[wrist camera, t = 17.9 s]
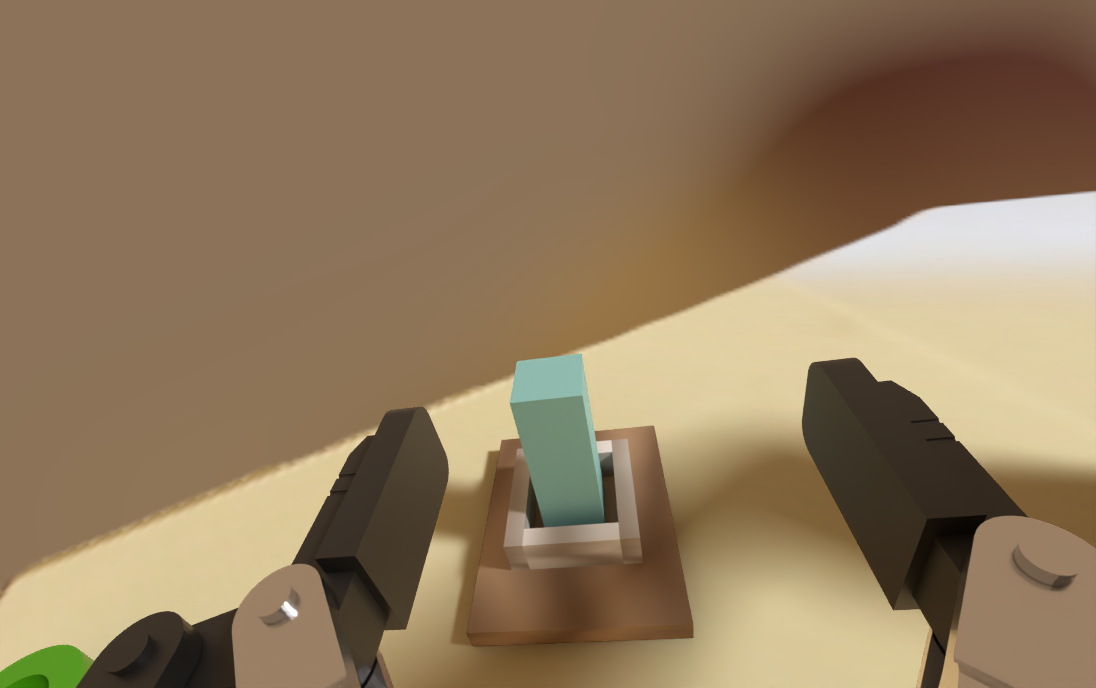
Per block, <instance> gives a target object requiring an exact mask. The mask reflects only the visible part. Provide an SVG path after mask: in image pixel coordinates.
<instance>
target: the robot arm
mask: <svg viewBox="0 0 1096 688" xmlns="http://www.w3.org/2000/svg"><path fill="white" fill-rule="evenodd" d="M802 430H803V436H804V440H805V443H806V446H807V449H808V451H809V453H810V455H811V457H812V459H813V460H814V462H815V464H816V466H817V468H818V470H819V472H820V474H821V475H822V477H823V479H824V481H825V483H826V485H827V487H828V489H829V490H830V492H831V494H832V496H833V498H834V500H835V502H836V504H837V505H838V507H839V509H840V511H841V513H842V515H843V517H844V519H845V520H846V522H847V524H848V526H849V528H850V530H851V532H852V534H853V536H854V537H855V539H856V541H857V543H858V545H859V547H860V549H861V551H862V552H863V554H864V556H865V558H866V560H867V562H868V564H869V566H870V567H871V569H872V571H873V573H874V575H875V577H876V579H877V581H878V582H879V584H880V586H881V588H882V590H883V592H884V594H885V596H886V597H887V599H888V601H889V603H890V605H891V607H892V609H893V610H909V609H920V610H921V611H922V613H923V615H924V617H925V618H926V620H927V622H928V624H929V625H930V627H931V628H930V630H929V632H928V635H927V639H926V644H925V648H924V653H923V657H922V662H921V667H920V671H919V676H918V680H917V685H916V688H1096V548H1094V547H1093V546H1092V545H1090V544H1089V543H1087V542H1086V541H1085V540H1083V539H1081V538H1080V537H1078V536H1076V535H1074V534H1073V533H1071V532H1069V531H1067V530H1065V529H1062V528H1060V527H1058V526H1055V525H1053V524H1050V523H1048V522H1044V521H1041V520H1037V519H1033V518H1029V517H1028V516H1027V515H1026V514H1025V513H1024V512H1023V511H1022V510H1021V509H1020V508H1019V507H1018V506H1017V505H1016V504H1015V503H1014V501H1013V500H1012V499H1011V498H1010V497H1009V496H1008V495H1007V494H1006V493H1005V491H1004V490H1003V489H1002V488H1001V487H1000V486H999V485H998V484H997V483H996V481H995V480H994V479H993V478H992V477H991V476H990V475H989V474H988V473H987V472H986V470H985V469H984V468H983V467H982V466H981V465H980V464H979V463H978V462H977V460H976V459H975V458H974V457H973V456H972V455H971V454H970V453H969V452H968V450H967V449H966V448H965V447H964V446H963V445H962V444H961V443H960V442H959V441H956V440H955V436H954V435H953V434H952V433H951V432H950V430H949V429H948V428H947V427H946V426H945V425H944V424H943V423H940V422H939V418H938V417H937V416H936V415H935V414H934V413H933V412H932V411H931V409H930V408H929V407H928V406H927V405H926V404H925V403H924V402H923V401H922V399H921V398H920V397H918V396H917V395H915V394H913V393H911V392H910V391H908V390H906V389H905V388H903V387H901V386H900V385H898V384H896V383H895V382H893V381H882V382H877V380H876V379H875V378H874V377H873V375H872V374H871V373H870V372H869V371H868V369H867V368H866V367H865V366H864V365H863V363H862V362H861V361H860V360H858V359H857V358H846V359H838V360H829V361H820V362H813V363H812V364H811V365H810V367H809V370H808V377H807V385H806V393H805V401H804V408H803V416H802ZM448 474H449V468H448V460H447V456H446V453H445V451H444V448H443V446H442V444H441V441H440V439H439V437H438V435H437V432H436V430H435V428H434V425H433V423H432V421H431V418H430V416H429V414H428V412H427V410H426V409H425V408H424V407H414V408H406V409H397V410H390V411H388V412H387V413H386V414H385V416H384V418H383V419H382V421H381V423H380V425H379V428H378V430H377V432H376V434H375V435H372V436H367V437H366V438H365V439H364V440H363V441H362V442H361V443H360V444H359V445H358V446H357V447H356V448H355V449H354V450H353V451H352V452H351V454H350V455H349V456H348V458H347V460H346V462H345V464H344V466H343V468H342V470H341V472H340V474H339V479H336V481H335V483H334V485H333V487H332V489H331V491H330V496H327V498H326V500H325V502H324V504H323V506H322V508H321V510H320V512H319V514H318V515H317V517H316V519H315V521H314V523H313V525H312V527H311V529H310V531H309V533H308V534H307V536H306V538H305V540H304V542H303V544H302V546H301V548H300V550H299V552H298V554H297V555H296V557H295V559H294V561H293V563H292V564H291V565H290V566H286V567H284V568H281V569H279V570H277V571H275V572H273V573H272V574H270V575H269V576H267V577H266V578H264V579H263V580H262V581H261V582H259V583H258V584H257V585H256V586H255V587H254V588H253V589H252V590H251V591H250V592H249V594H248V595H247V596H246V597H245V599H244V600H243V601H242V603H241V604H240V606H239V608H237V609H234V610H231V611H229V612H226V613H223V614H221V615H218V616H215V617H213V618H210V619H207V620H205V621H202V622H199V623H197V624H194V625H192V626H191V625H190V624H189V623H188V622H186V621H185V620H184V619H183V618H182V617H181V616H180V615H178V614H176V613H175V612H170V611H165V612H159V613H155V614H152V615H149V616H147V617H145V618H143V619H141V620H139V621H138V622H136V623H134V624H133V625H131V626H130V627H128V628H127V629H125V630H124V631H123V632H122V633H120V634H119V635H118V636H117V637H116V638H115V639H114V640H113V641H111V642H110V643H109V644H108V645H107V647H106V648H105V649H104V650H103V651H102V652H101V653H100V655H99V656H98V657H97V658H96V660H95V661H94V662H93V664H92V665H91V667H90V668H89V669H88V671H87V672H86V674H85V675H84V677H83V678H82V679H81V681H80V682H79V684H78V685H77V686H76V688H393V685H392V682H391V679H390V677H389V674H388V671H387V668H386V665H385V662H384V659H383V656H382V654H381V652H380V650H379V649H378V648H379V645H380V641H381V638H382V635H383V632H384V630H402V629H406V627H407V624H408V620H409V617H410V613H411V610H412V606H413V602H414V599H415V595H416V592H417V588H418V585H419V581H420V578H421V574H422V571H423V567H424V564H425V560H426V556H427V553H428V549H429V546H430V542H431V539H432V535H433V532H434V528H435V525H436V521H437V518H438V514H439V510H440V507H441V503H442V500H443V496H444V493H445V489H446V486H447V482H448Z"/></svg>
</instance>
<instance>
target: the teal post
mask: <svg viewBox="0 0 1096 688" xmlns="http://www.w3.org/2000/svg"><path fill="white" fill-rule="evenodd" d="M510 405H511V409H512V412H513V416H514V420H515V423H516V427H517V430H518V434H519V437H520V441H521V445H522V448H523V452H524V455H525V459H526V462H527V466H528V470H529V473H530V477H531V480H532V484H533V487H534V491H535V495H536V498H537V502H538V505H539V509H540V512H541V516H542V520H543V523H544V527H559V526H574V525H588V524H602V523H606V515H605V499H604V486H603V480H602V474H601V468H600V462H599V456H598V450H597V444H596V438H595V432H594V426H593V420H592V414H591V408H590V402H589V396H588V390H587V384H586V378H585V372H584V366H583V360H582V354H575V355H566V356H558V357H550V358H541V359H533V360H525V361H518V362H517V365H516V371H515V377H514V382H513V388H512V394H511V400H510Z"/></svg>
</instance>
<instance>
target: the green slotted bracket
mask: <svg viewBox="0 0 1096 688" xmlns="http://www.w3.org/2000/svg"><path fill="white" fill-rule="evenodd" d="M93 662H94V660H92V659H91V658H90V657H88V656H87V655H85V654H84V653H83V652H81V651H80V650H79V649H77V648H76V647H74V646H70V645H57V646H52V647H48V648H45V649H42V650H39V651H37V652H34V653H32V654H30V655H28V656H26V657H24V658H22V659H20V660H18V661H17V662H15V663H13V664H12V665H10V666H8V667H7V668H5V669H4V670H2V671H1V672H0V688H76V686H77V685H78V684H79V682H80V681H81V679H82V678H83V677H84V675H85V674H86V672H87V671H88V669H89V668H90V667H91V665H92V664H93Z"/></svg>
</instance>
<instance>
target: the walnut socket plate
mask: <svg viewBox="0 0 1096 688" xmlns="http://www.w3.org/2000/svg"><path fill="white" fill-rule="evenodd" d="M594 432H595V438H596V444H597V450H598V456H599V462H600V468H601V474H602V480H603V486H604V499H605V515H606V523H602V524H588V525H574V526H559V527H544V523H543V520H542V516H541V512H540V509H539V505H538V502H537V498H536V495H535V491H534V487H533V484H532V480H531V477H530V473H529V470H528V466H527V462H526V459H525V455H524V452H523V448H522V445H521V441H520V439H509V440H502V441H501V447H500V452H499V458H498V463H497V469H496V474H495V480H494V485H493V491H492V496H491V502H490V507H489V513H488V518H487V524H486V530H485V535H484V541H483V546H482V552H481V557H480V563H479V568H478V574H477V579H476V585H475V590H474V596H473V601H472V607H471V612H470V618H469V623H468V629H467V635H468V637H469V639H470V641H471V643H472V645H473V646H488V645H514V644H541V643H567V642H594V641H620V640H647V639H673V638H693V621H692V616H691V611H690V606H689V601H688V596H687V591H686V585H685V580H684V575H683V570H682V565H681V560H680V555H679V550H678V545H677V540H676V535H675V530H674V525H673V520H672V515H671V510H670V505H669V500H668V494H667V489H666V484H665V479H664V474H663V469H662V464H661V459H660V454H659V449H658V444H657V439H656V434H655V429H654V426H645V427H634V428H624V429H613V430H603V431H594Z"/></svg>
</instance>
